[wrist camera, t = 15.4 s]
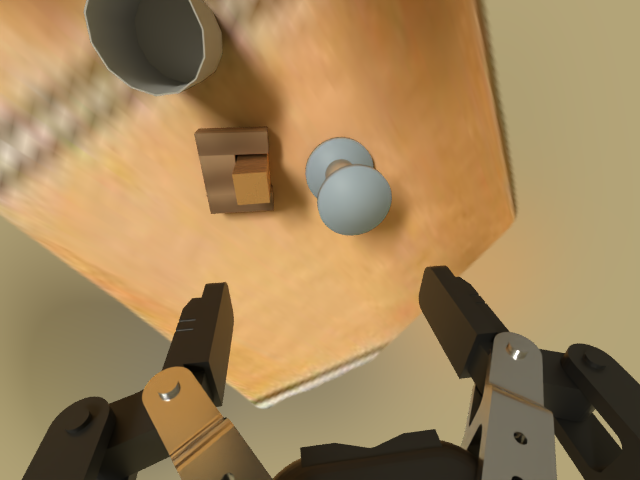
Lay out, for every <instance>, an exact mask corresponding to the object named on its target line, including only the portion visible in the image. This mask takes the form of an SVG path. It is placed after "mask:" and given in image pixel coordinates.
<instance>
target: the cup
mask: <svg viewBox="0 0 640 480" xmlns="http://www.w3.org/2000/svg"><path fill="white" fill-rule="evenodd" d="M84 15H85V20H86V24H87V29H88V33H89V38H90V42H91V44H92V46H93V47H94V49H95V50H96V52H97V53H98V55H99V57H100V58H101V60H102V61H103V63H104V64H105V66H106V67H107V69H108V70H109V71H110V72H112V73H113V74H114V75H115V76H117V77H118V78H119V79H120V80H122V81H123V82H124V83H125V84H127V85H128V86H129V87H130V88H132V89H135V90H139V91H142V92H145V93H148V94H151V95H154V96H162V95H169V94H177V93H180V92H182V91H184V90H186V89H188V88H190V87H192V86H194V85H196V84H198V83H200V82H202V81H203V80H204V79H206V78H207V77H208V76H210V75H211V74H212V73H213V72H215V71H216V69H217V66H218V64H219V61H220V59H221V57H222V54H223V51H222V32H221V30H220V28H219V25H218V23H217V21H216V18H215V16H214V14H213V11H212V10H211V9H210V8H209V7H208V6H207V5H206V4H205V3H204V2H203V1H202V0H86V4H85V8H84Z"/></svg>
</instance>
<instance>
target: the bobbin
mask: <svg viewBox="0 0 640 480" xmlns="http://www.w3.org/2000/svg"><path fill="white" fill-rule="evenodd" d="M306 180H307V184H308V186H309V189H310V190H311V192H312V193H313V195H314V196H315V197H316V198H317V206H318V210H319V214H320V217H321V219H322V221H323V222H324V223H325V225H326V226H327V227H328V228H330V229H331V230H332V231H334V232H336V233H339V234H342V235H359V234H363V233H366V232H368V231H370V230H372V229H373V228H375V227H376V226H378V225H379V224H380V223H381V222H382V221H383V219H384V218H385V217H386V215H387V213H388V211H389V209H390V206H391V200H392V195H391V189H390V186H389V184H388V182H387V181H386V179H385V178H384V177H383V176H382V174H381V173H380V172H378V171H377V170H376V169H374V167H373V161H372V158H371V156H370V154H369V152H368V151H367V150H366V149H365V147H364V146H363V145H361V144H360V143H359V142H357V141H355V140H353V139H350V138H346V137H337V138H332V139H329V140H326V141H324V142H323V143H321V144H320V145H318V146H317V147H316V148H315V149H314V150H313V152H312V153H311V155H310V156H309V159H308V161H307V164H306Z"/></svg>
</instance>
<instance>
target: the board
mask: <svg viewBox="0 0 640 480" xmlns="http://www.w3.org/2000/svg"><path fill="white" fill-rule="evenodd" d="M194 135H195V140H196V145H197V149H198V154H199V159H200V164H201V168H202V173H203V178H204V183H205V187H206V192H207V197H208V202H209V207H210V211H211V214H216V213H234V212H252V211H270V210H274V200H273V188H272V185H270V203H259V204H246V205H238V204H237V199H236V193H235V188H234V183H233V177H232V173H233V170H234V167H235V163H236V160H237V155H242V154H269V142H268V131H267V127H243V128H207V129H198V130H197V131H196V132H195V134H194Z"/></svg>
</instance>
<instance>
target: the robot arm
mask: <svg viewBox="0 0 640 480" xmlns="http://www.w3.org/2000/svg"><path fill="white" fill-rule="evenodd" d="M419 304H420V308H421V310H422V312H423V314H424V315H425V317H426V319H427V321H428V323H429V324H430V326H431V328H432V330H433V332H434V334H435V335H436V337H437V339H438V341H439V343H440V344H441V346H442V348H443V350H444V352H445V353H446V355H447V357H448V359H449V360H450V362H451V364H452V366H453V367H454V370H455V371H456V373H457V375H458V377H459V379H461V378H469V377H472V379H473V381H474V382H475V383H474V386H473V389H472V394H471V401H470V406H469V412H468V417H467V424H466V429H465V434H464V437H463V441H462V444H461V447H459V446H457V445H454V444H452V443H449V442H445V441H441V440H439V437H438V435H437V433H436V430H435V429H433V430H425V431H419V432H411V433H403V434H401V435H399V436H397V437H395V438H393V439H391V440H389V441H387V442H384V443H382V444H380V445H378V446H376V447H373V448H365V447H359V446H352V445H345V444H338V443H331V444H323V445H316V446H310V447H302V448H300V450H301V458H300V459H298V460H296V461H294V462H292V463H291V464H289V465H288V466H287V467H285V468H284V469H283V470H282V471H280V472H279V473H278V474H277V475H276V476H275V477H274V478H273V479H272V478H271V476H270V475H269V474H268V472H267V471H266V469H265V468H264V467H263V465H262V464H261V463H260V461H259V460H258V458H257V457H256V456H255V454H254V453H253V451H252V450H251V449H250V447H249V446H248V445H247V443H246V442H245V440H244V439H243V437H242V436H241V435H240V433H239V432H238V430H237V429H236V428H235V426H234V425H233V424H232V422H231V421H230V420H229V419H228V418H224V417H223V416H222V415H221V414H220V412H219V411H218V410H217V408H216V407H219V406H222V403H223V396H224V389H225V382H226V375H227V368H228V361H229V354H230V347H231V340H232V333H233V325H234V316H233V309H232V304H231V299H230V294H229V289H228V285H227V283H226V282H223V283H210V284H206V285H205V288H204V291H203V295H202V298H192V299H191V300H190V302H189V303H188V304H187V305H186V306H185V307H184V308H183V310H182V313H181V316H180V319H179V323H178V325H177V328H176V332H175V334H174V337H173V340H172V343H171V346H170V349H169V351H168V354H167V357H166V361H165V363H164V366H163V369H162V371H161V372H159V373H158V374H156V375H155V376H154V377H153V378H152V379H151V380H150V381H149V382H148V383H147V385H146V386H145V389H143V390H142V391H140V392H138V393H135V394H134V395H131V396H128V397H125V398H123V399H120V400H118V401H115V402H113V403H110V404H108V402H107V401H106V400H105V399H103V398H101V397H88V398H84V399H82V400H79V401H77V402H75V403H73V404H72V405H70V406H69V407H67V408H66V409H65V410H63V411H62V412H61V413H60V414H59V415H58V416H57V417H56V418H55V420H54V421H53V422H52V424H51V425H50V427H49V429H48V431H47V433H46V435H45V437H44V439H43V441H42V442H41V444H40V446H39V448H38V450H37V452H36V454H35V455H34V457H33V459H32V461H31V463H30V465H29V467H28V469H27V471H26V473H25V475H24V476H23V478H22V480H136V477H137V473H138V471H140V470H142V469H145V468H146V467H149V466H151V465H153V464H155V463H157V462H159V461H161V460H163V459H166V458H167V457H171V459H172V461H173V464H174V466H175V468H176V469H177V471H178V473H179V475H180V477H181V479H182V480H557V474H556V455H555V437H554V434H555V435H556V437H557V438H558V440H559V442H560V443H561V445H562V446H563V448H564V449H565V451H566V452H567V453H568V455H569V457H570V458H571V460H572V461H573V462H574V464H575V466H576V467H577V469H578V470H579V472H580V473H581V475H582V476H583V478H584V479H585V480H640V384H639V383H638V382H637V381H635V379H634V378H633V377H631V375H630V374H628V372H627V371H625V370H624V368H623V367H621V366H620V365H619V364H618V363H617V362H616V361H615V360H614V359H613V358H612V357H611V356H609V355H608V354H607V353H605V352H604V351H602V350H600V349H598V348H596V347H593V346H590V345H586V344H573V345H571V346H570V347H569V348H568V349H567V351H566V353H560V352H554V351H548V350H542V349H538V347H537V346H536V345H535V344H534V343H533V342H532V341H530V340H529V339H527V338H526V337H524V336H522V335H519V334H516V333H512V332H509V331H508V329H507V328H506V327H505V326H504V325H503V323H502V322H501V321H500V320H499V318H498V317H497V316H496V315H495V314H494V312H493V311H492V310H491V309H490V308H489V306H488V305H487V304H485V301H484V300H483V299H482V298H481V296H479V295H478V293H477V292H476V290H475V289H474V288H473V287H472V286H471V284H469V283H468V282H466V281H465V280H463V279H462V278H460V277H455V276H454V275H453V273H452V272H451V271H450V270H449V268H448V267H447V266H433V267H426V269H425V271H424V275H423V279H422V284H421V288H420V292H419ZM595 409H596V410H597V411H598V412H599V414H600V415H601V416H602V417H603V419H604V420H605V421H606V422H607V423H608V424H609V426H610V427H611V428H612V429H613V431H614V432H615V433H616V434H617V436H618V437H619V439H620V441H621V444H622V449H621V448H620V447H619V445H618V444H617V443H616V442H615V440H614V439H613V438H612V437H611V435H610V434H609V433H608V432H607V431H606V429H605V428H604V427H603V425H602V424H601V423H600V422H599V421H598V419H597V418H596V417H595V415H594V414H593V413H592V412H593V411H594V410H595Z"/></svg>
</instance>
